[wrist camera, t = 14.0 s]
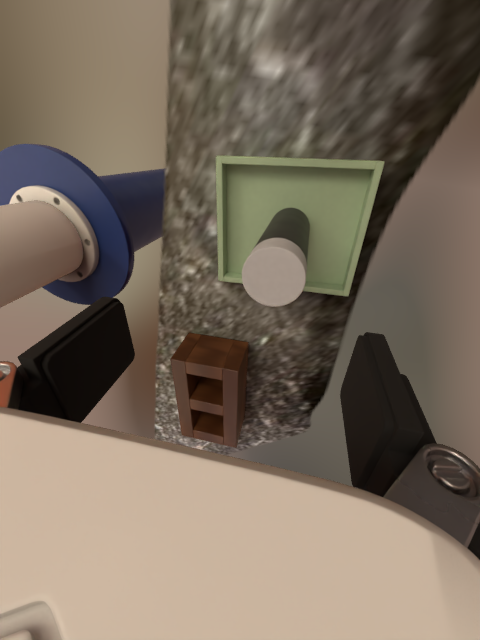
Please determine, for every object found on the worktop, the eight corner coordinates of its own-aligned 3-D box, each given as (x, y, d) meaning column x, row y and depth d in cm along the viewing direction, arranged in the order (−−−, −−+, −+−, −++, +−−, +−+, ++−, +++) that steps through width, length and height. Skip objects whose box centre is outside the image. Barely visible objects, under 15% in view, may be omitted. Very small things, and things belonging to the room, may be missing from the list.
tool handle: (268, 246, 29) (240, 302, 18) (271, 206, 27) (242, 243, 16) (306, 249, 28) (300, 310, 17) (312, 208, 26) (311, 250, 15)
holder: (195, 405, 47) (181, 435, 42) (188, 332, 39) (170, 359, 34) (244, 415, 45) (236, 448, 40) (248, 342, 37) (238, 371, 32)
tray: (223, 273, 32) (218, 280, 31) (222, 155, 26) (215, 155, 24) (346, 288, 30) (348, 296, 28) (379, 160, 23) (384, 161, 22)
